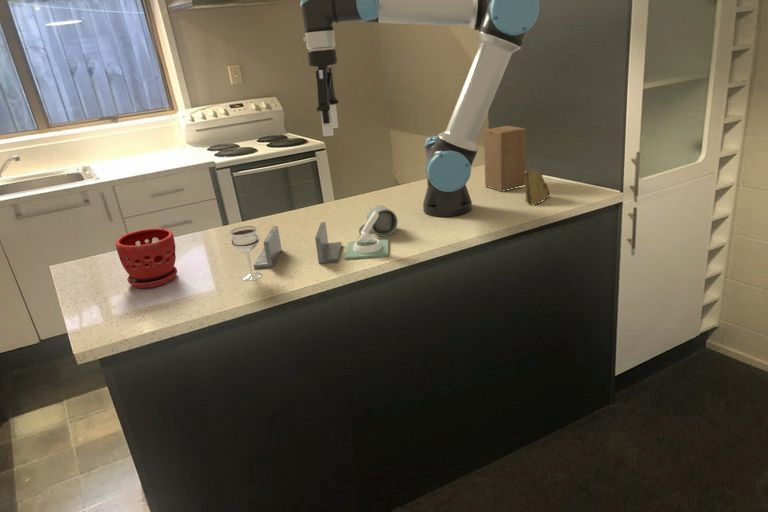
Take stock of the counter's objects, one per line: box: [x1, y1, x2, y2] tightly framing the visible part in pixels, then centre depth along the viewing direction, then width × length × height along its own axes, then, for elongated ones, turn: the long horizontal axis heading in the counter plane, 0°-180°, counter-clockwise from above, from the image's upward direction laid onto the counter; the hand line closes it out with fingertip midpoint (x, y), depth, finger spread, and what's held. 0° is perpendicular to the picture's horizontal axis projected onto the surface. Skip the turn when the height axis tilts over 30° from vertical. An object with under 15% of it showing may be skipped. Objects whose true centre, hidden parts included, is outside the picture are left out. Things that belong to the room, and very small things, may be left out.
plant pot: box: [115, 228, 178, 289], centre depth 132 cm, size 13×13×12 cm
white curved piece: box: [353, 211, 382, 253], centre depth 139 cm, size 8×12×7 cm
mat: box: [344, 238, 389, 260], centre depth 141 cm, size 11×11×1 cm
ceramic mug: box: [358, 205, 399, 237], centre depth 152 cm, size 11×8×8 cm
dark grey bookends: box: [253, 221, 343, 270], centre depth 140 cm, size 21×12×7 cm, turn 89°
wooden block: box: [483, 125, 527, 191], centre depth 183 cm, size 10×10×20 cm
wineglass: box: [228, 225, 263, 282], centre depth 129 cm, size 7×7×12 cm
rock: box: [524, 170, 551, 206], centre depth 167 cm, size 11×9×10 cm
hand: (331, 131), depth 147 cm, fingers open, 13 cm apart
